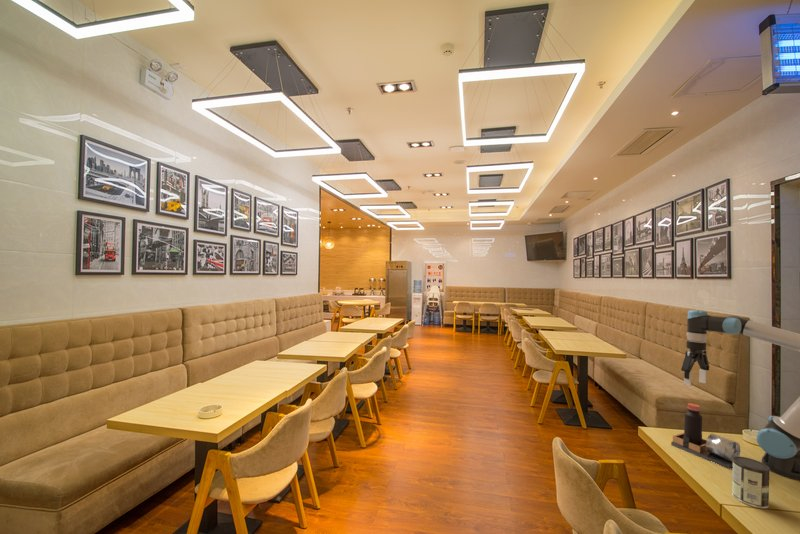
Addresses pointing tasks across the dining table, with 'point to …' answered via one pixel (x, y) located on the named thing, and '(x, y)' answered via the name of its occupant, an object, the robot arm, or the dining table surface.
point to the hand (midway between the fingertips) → (695, 384)
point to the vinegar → (693, 424)
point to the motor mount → (710, 448)
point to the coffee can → (750, 482)
